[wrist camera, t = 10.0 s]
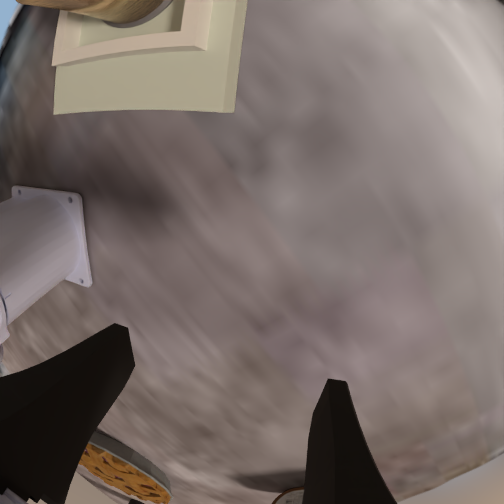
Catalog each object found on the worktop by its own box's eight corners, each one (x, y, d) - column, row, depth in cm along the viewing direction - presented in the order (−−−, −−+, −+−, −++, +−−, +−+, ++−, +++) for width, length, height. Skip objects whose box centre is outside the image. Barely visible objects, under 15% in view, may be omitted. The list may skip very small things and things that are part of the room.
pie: (52, 409, 41) (38, 427, 37) (145, 441, 35) (130, 467, 31) (108, 470, 50) (99, 486, 45) (195, 497, 44) (187, 518, 39)
